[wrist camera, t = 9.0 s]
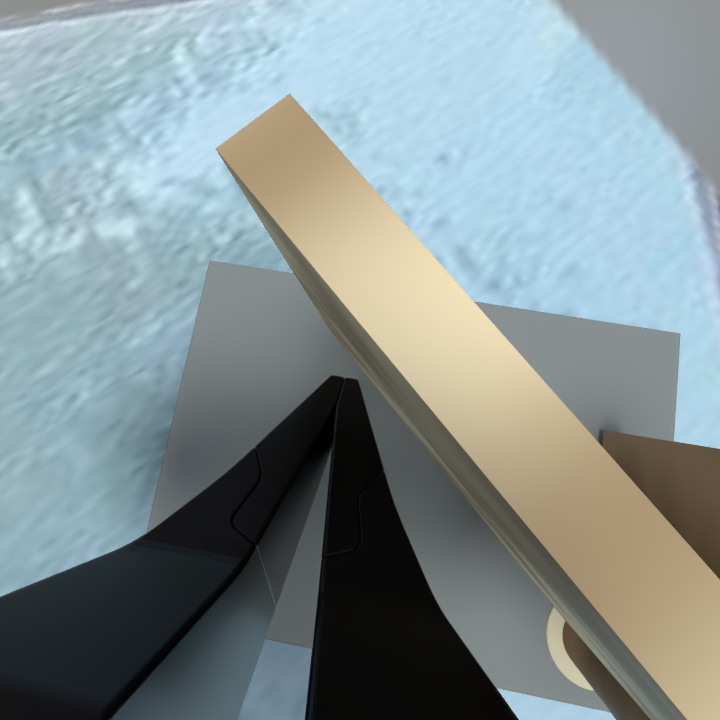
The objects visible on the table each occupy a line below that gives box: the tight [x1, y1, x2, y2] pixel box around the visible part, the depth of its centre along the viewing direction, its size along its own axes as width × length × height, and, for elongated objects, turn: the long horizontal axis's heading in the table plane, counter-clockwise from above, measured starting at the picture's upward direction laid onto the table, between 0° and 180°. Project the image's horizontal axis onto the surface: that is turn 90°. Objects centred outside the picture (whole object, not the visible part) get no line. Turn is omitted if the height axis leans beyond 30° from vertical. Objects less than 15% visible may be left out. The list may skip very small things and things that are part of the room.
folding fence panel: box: [216, 94, 720, 720], centre depth 8 cm, size 16×1×11 cm, turn 39°
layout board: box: [147, 261, 680, 712], centre depth 15 cm, size 18×25×1 cm
